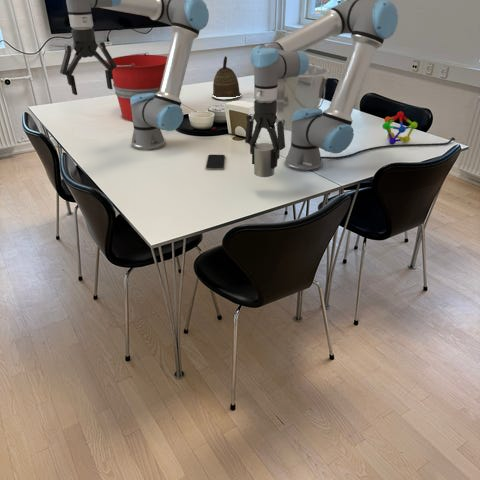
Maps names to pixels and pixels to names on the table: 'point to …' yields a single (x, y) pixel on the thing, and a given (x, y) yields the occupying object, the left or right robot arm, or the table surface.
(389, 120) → the educational toy
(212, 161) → the smartphone
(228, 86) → the bell
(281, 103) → the bucket
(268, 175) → the can
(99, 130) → the table surface
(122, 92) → the bucket
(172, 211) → the table surface
